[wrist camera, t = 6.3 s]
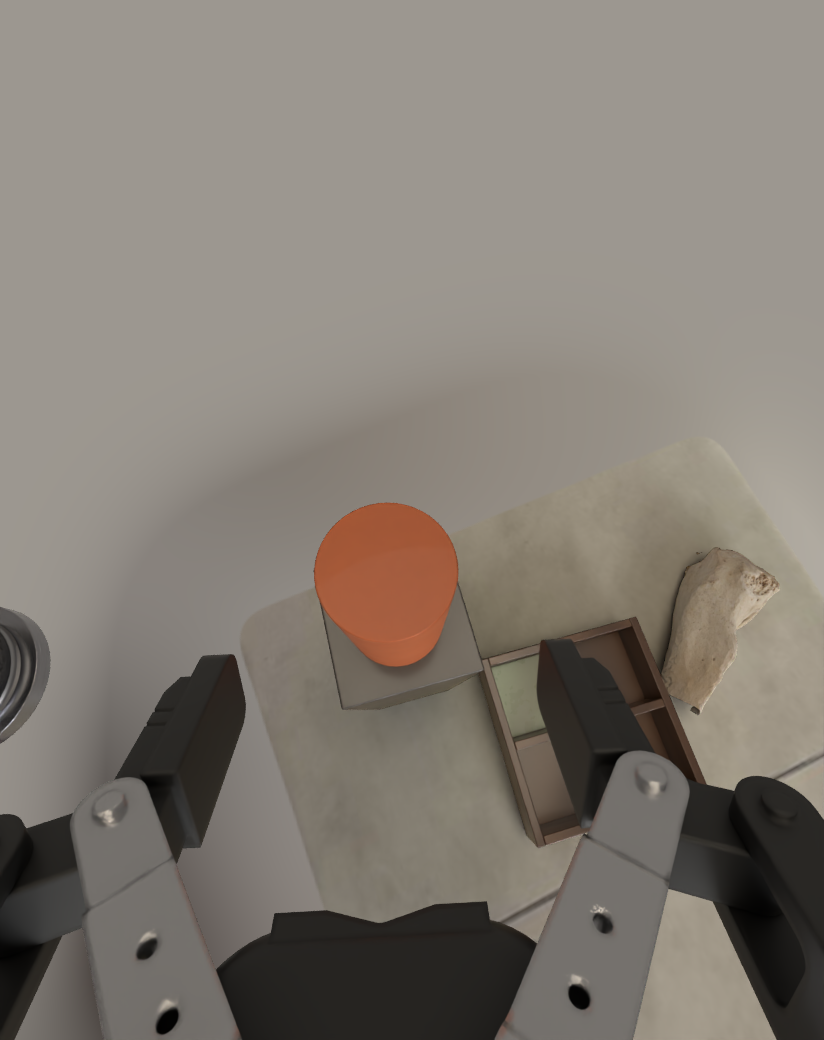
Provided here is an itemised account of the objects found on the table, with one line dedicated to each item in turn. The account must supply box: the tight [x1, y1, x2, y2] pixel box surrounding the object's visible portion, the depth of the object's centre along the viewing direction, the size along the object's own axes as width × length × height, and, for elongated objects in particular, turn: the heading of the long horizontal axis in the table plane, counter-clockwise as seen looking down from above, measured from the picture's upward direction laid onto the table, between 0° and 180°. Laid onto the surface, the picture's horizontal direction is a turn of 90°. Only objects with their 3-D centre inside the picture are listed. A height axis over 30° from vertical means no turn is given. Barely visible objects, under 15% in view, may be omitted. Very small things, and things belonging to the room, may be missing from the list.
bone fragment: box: [661, 547, 780, 715], centre depth 41 cm, size 14×6×5 cm, turn 143°
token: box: [314, 503, 458, 667], centre depth 18 cm, size 4×4×8 cm
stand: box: [320, 581, 484, 710], centre depth 32 cm, size 6×6×22 cm
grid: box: [478, 617, 707, 848], centre depth 39 cm, size 13×13×4 cm
